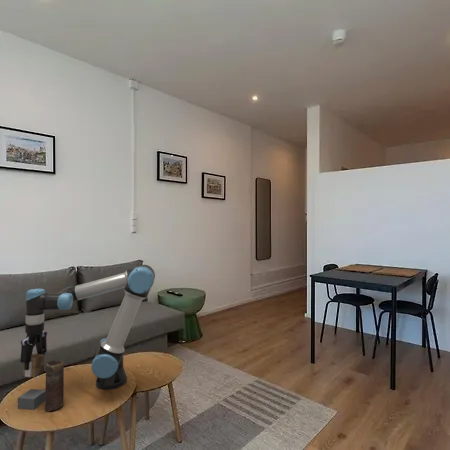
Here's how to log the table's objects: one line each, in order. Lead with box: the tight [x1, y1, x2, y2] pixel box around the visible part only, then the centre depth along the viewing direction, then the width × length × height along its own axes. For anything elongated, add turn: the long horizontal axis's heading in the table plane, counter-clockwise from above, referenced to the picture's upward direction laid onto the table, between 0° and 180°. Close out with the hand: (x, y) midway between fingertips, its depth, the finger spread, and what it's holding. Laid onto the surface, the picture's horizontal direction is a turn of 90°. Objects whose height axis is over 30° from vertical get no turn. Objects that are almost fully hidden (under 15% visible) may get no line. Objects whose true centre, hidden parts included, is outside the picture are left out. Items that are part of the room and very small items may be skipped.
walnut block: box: [22, 352, 46, 378], centre depth 149 cm, size 6×6×8 cm
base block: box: [17, 388, 46, 411], centre depth 147 cm, size 8×8×5 cm
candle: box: [44, 359, 65, 412], centre depth 144 cm, size 8×7×20 cm
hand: (33, 373), depth 149 cm, fingers closed on walnut block, 6 cm apart
